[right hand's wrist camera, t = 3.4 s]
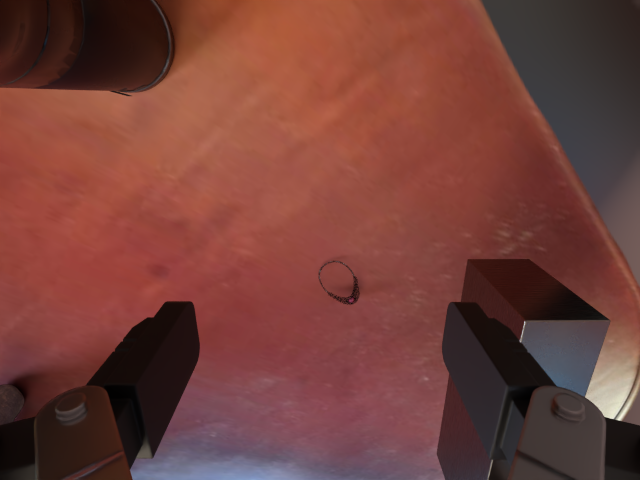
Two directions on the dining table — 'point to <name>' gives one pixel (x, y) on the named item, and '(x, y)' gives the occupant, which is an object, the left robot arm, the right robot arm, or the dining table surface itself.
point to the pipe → (10, 403)
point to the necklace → (340, 296)
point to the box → (538, 338)
